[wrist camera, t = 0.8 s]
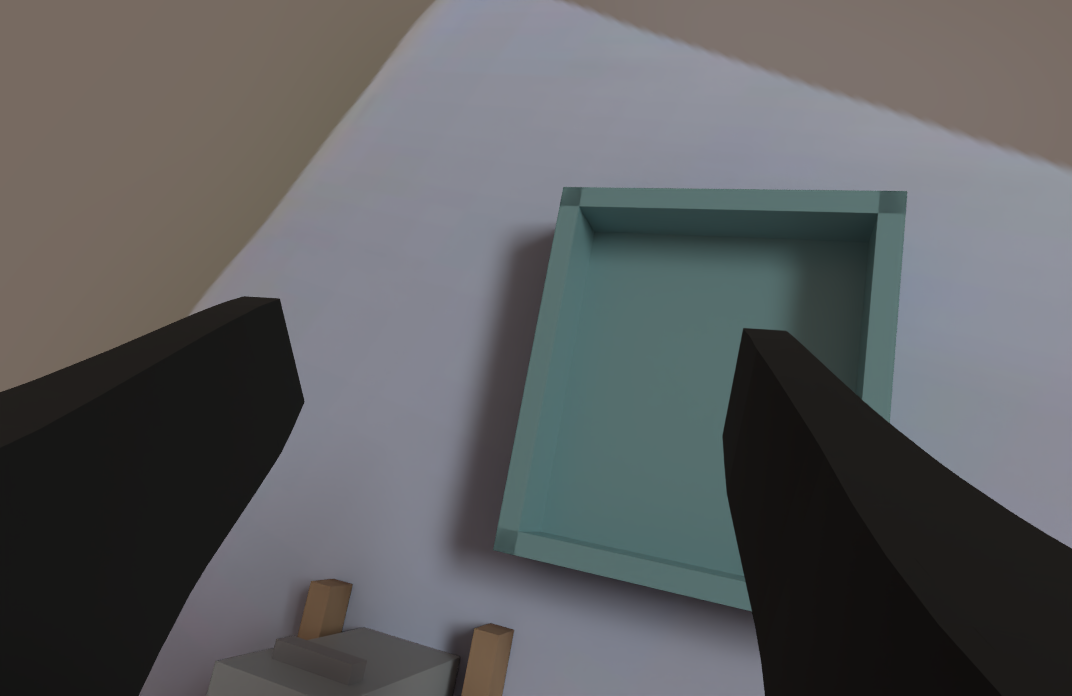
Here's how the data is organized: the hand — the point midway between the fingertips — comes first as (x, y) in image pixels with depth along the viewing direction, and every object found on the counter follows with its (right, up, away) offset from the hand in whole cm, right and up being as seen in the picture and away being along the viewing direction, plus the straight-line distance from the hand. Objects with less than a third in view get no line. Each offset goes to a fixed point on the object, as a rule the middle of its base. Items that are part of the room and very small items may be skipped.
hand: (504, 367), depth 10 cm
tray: (+7, -1, +15) cm, 16 cm away
